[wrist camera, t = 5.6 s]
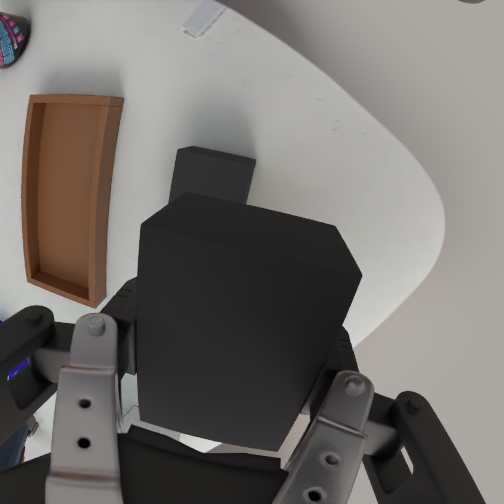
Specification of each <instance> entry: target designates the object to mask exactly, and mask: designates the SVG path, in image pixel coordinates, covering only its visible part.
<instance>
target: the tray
mask: <svg viewBox="0 0 504 504" xmlns="http://www.w3.org/2000/svg"><path fill="white" fill-rule="evenodd" d="M123 102H124V98H118V97H109V96H92V95H30V97H29V104H28V110H27V118H26V126H25V135H24V146H23V159H22V185H21V209H22V234H23V248H24V259H25V269H26V276H27V282H29V283H31V284H33V285H36V286H38V287H40V288H43V289H45V290H48V291H50V292H53V293H55V294H58V295H60V296H63V297H65V298H68V299H70V300H73V301H76V302H78V303H81V304H84V305H86V306H89V307H92V308H95V309H96V308H97V307H98V306H99V304H100V303H101V302H102V301H103V300H104V299H105V298H106V247H107V226H108V212H109V199H110V189H111V179H112V171H113V163H114V155H115V148H116V141H117V135H118V129H119V123H120V118H121V112H122V107H123Z"/></svg>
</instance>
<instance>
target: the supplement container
mask: <svg viewBox="0 0 504 504" xmlns="http://www.w3.org/2000/svg"><path fill="white" fill-rule="evenodd" d="M29 34H30V27H29V23H28V21H27V20H26V19H25V18H24V17H21V16H17V15H13V14H9V13H4V12H0V69H5V68H8V67H10V66H11V65H13V64H14V63H15V62H16V61H17V60H18V59H19V57H20V56H21V55H22V53H23V51H24V50H25V47H26V45H27V43H28V39H29Z"/></svg>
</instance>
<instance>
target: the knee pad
mask: <svg viewBox="0 0 504 504" xmlns="http://www.w3.org/2000/svg"><path fill="white" fill-rule="evenodd" d="M38 426H39V425H38V422H36V420H35V418H34V416H33V415H31V416H30V417H29V418H28V419H27V420H26V421H25V422H24V423H23V424H22V425H21V426H20V427H19V428H18V429H17V430H16V431H15V432H14V433H13V434H12V435H11V436H10V437H9V438H8V439H7V440H6V441H5V442H4V443H3V444H2V445H1V446H0V470H3V469H6V468H9V467H12V466H15V465H18V464H21V463H23V462H24V452H25V446H24V445H25V442H26V438H27V435H28V437H31V435H34V433H35V431H36V430H37V428H38ZM29 429H30V430H29Z"/></svg>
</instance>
